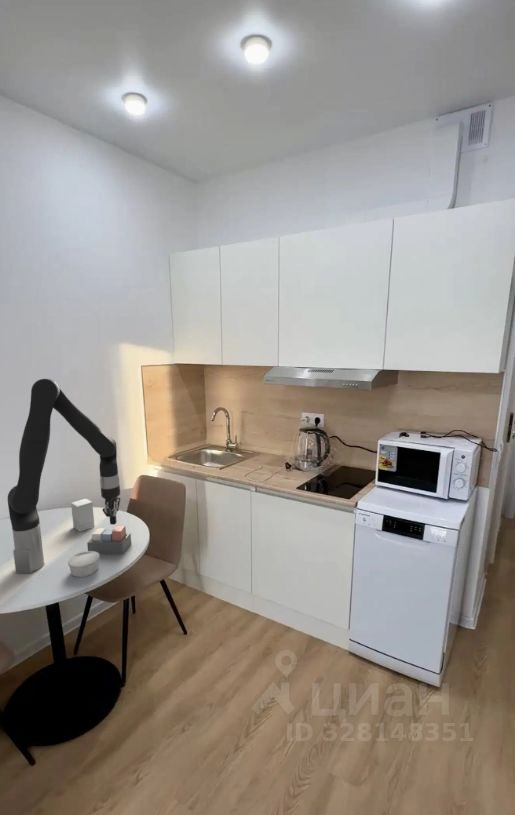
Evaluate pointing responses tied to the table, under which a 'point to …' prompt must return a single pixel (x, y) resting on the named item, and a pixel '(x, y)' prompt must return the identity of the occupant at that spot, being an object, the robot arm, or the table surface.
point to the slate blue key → (107, 535)
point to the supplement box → (82, 514)
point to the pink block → (119, 533)
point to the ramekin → (84, 563)
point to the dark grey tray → (110, 546)
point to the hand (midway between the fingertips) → (113, 523)
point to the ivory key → (97, 534)
